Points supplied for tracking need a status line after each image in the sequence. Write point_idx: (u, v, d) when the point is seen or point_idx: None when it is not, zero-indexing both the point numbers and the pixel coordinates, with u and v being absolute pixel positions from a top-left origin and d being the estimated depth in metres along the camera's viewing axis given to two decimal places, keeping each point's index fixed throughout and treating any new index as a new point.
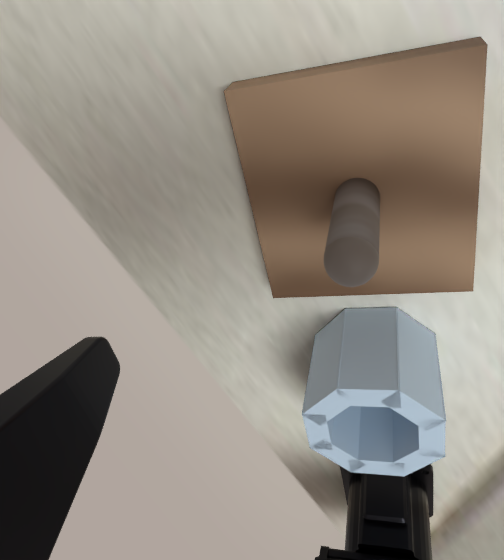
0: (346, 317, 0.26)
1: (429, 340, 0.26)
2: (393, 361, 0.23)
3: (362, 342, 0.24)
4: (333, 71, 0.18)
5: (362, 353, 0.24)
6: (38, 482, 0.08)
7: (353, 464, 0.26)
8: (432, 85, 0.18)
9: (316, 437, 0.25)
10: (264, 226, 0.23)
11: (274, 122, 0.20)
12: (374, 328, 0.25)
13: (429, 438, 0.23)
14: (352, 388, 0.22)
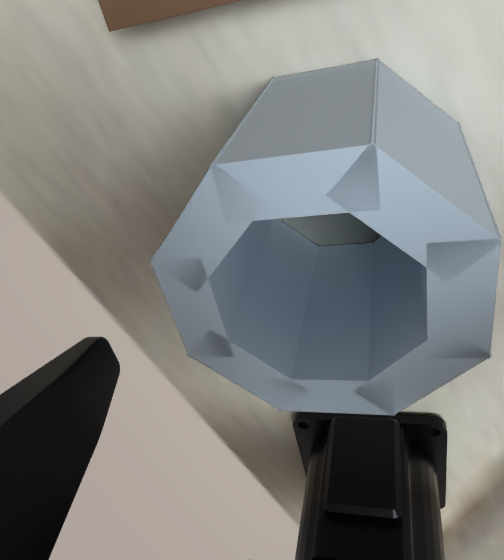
0: (272, 86, 0.13)
1: (447, 124, 0.12)
2: (363, 110, 0.09)
3: (296, 102, 0.11)
4: None
5: (291, 113, 0.10)
6: (38, 482, 0.08)
7: (282, 391, 0.12)
8: None
9: (195, 326, 0.11)
10: None
11: None
12: (325, 84, 0.11)
13: (454, 305, 0.09)
14: (251, 158, 0.08)
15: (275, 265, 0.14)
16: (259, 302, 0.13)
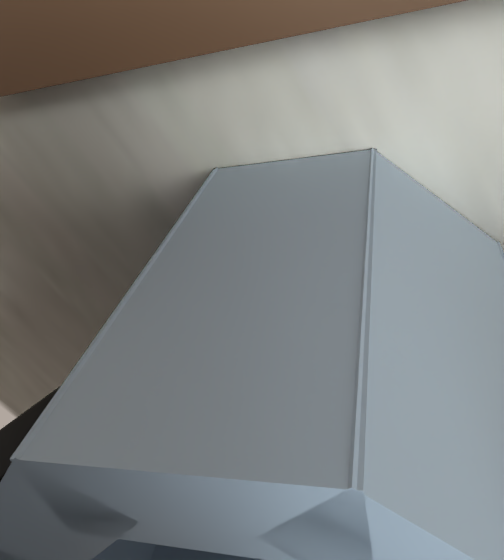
0: (209, 188, 0.08)
1: (486, 257, 0.07)
2: (342, 312, 0.05)
3: (230, 247, 0.06)
4: None
5: (214, 285, 0.05)
6: None
7: None
8: None
9: None
10: None
11: None
12: (286, 204, 0.07)
13: None
14: (91, 460, 0.04)
15: None
16: None
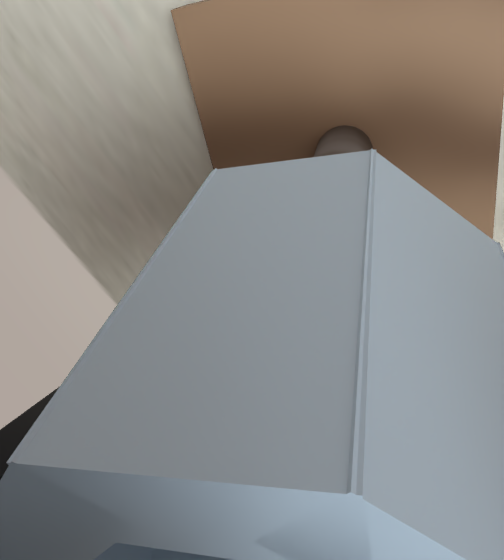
0: (209, 188, 0.08)
1: (485, 258, 0.07)
2: (341, 313, 0.05)
3: (229, 249, 0.06)
4: None
5: (213, 286, 0.05)
6: None
7: None
8: None
9: None
10: None
11: (236, 51, 0.16)
12: (286, 205, 0.07)
13: None
14: (89, 464, 0.04)
15: None
16: None
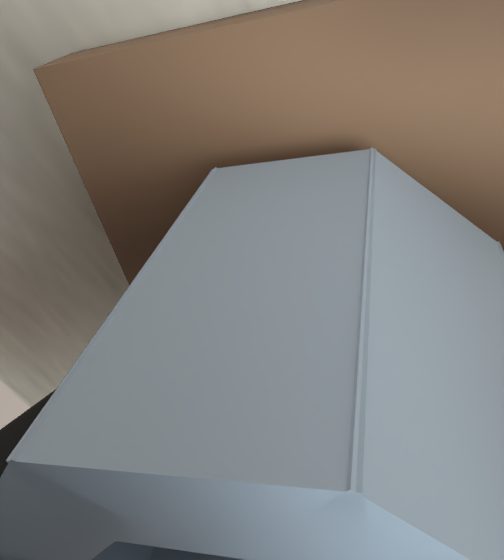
0: (209, 187, 0.08)
1: (486, 257, 0.07)
2: (341, 312, 0.05)
3: (229, 247, 0.06)
4: (254, 19, 0.08)
5: (213, 285, 0.05)
6: None
7: None
8: (486, 49, 0.07)
9: None
10: None
11: (144, 134, 0.10)
12: (286, 203, 0.07)
13: None
14: (88, 462, 0.04)
15: None
16: None
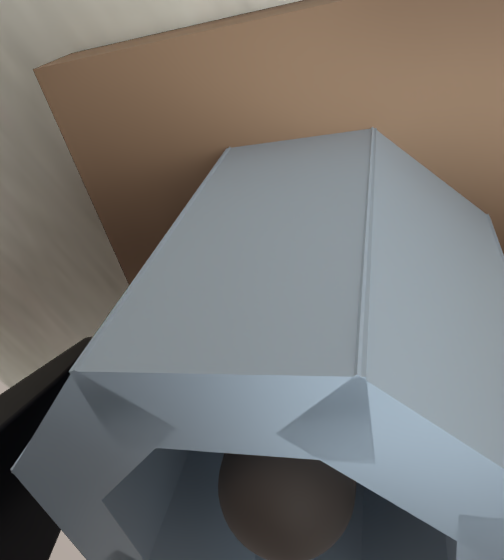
0: (224, 164, 0.09)
1: (476, 225, 0.08)
2: (347, 255, 0.05)
3: (246, 210, 0.07)
4: (254, 19, 0.08)
5: (234, 239, 0.06)
6: None
7: None
8: (486, 49, 0.07)
9: (95, 543, 0.07)
10: None
11: (144, 134, 0.10)
12: (295, 174, 0.08)
13: None
14: (139, 368, 0.04)
15: None
16: (204, 472, 0.09)
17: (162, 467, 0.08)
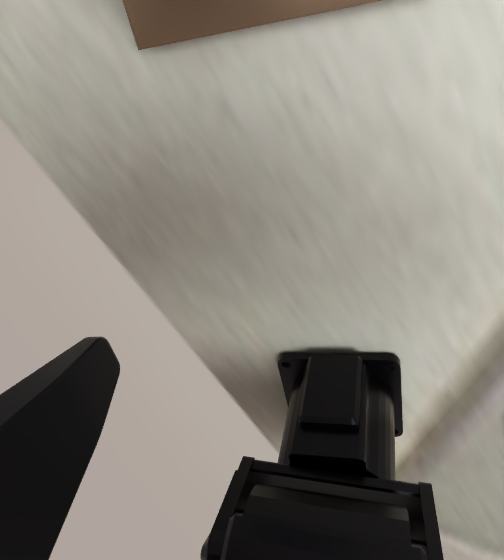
0: None
1: None
2: None
3: None
4: None
5: None
6: (38, 482, 0.08)
7: None
8: None
9: None
10: None
11: None
12: None
13: None
14: None
15: None
16: None
17: None
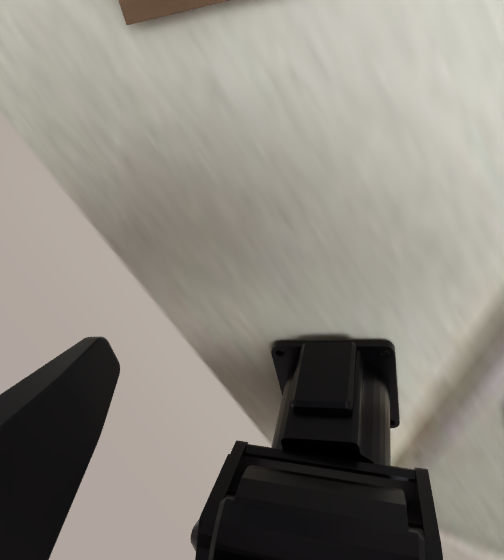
0: None
1: None
2: None
3: None
4: None
5: None
6: (38, 482, 0.08)
7: None
8: None
9: None
10: None
11: None
12: None
13: None
14: None
15: None
16: None
17: None
